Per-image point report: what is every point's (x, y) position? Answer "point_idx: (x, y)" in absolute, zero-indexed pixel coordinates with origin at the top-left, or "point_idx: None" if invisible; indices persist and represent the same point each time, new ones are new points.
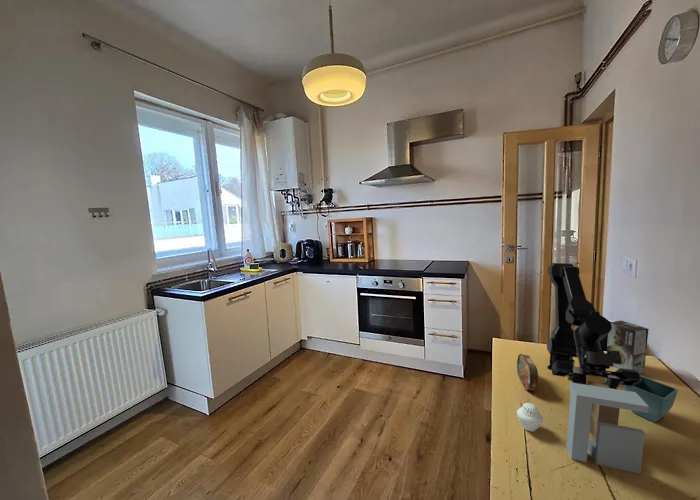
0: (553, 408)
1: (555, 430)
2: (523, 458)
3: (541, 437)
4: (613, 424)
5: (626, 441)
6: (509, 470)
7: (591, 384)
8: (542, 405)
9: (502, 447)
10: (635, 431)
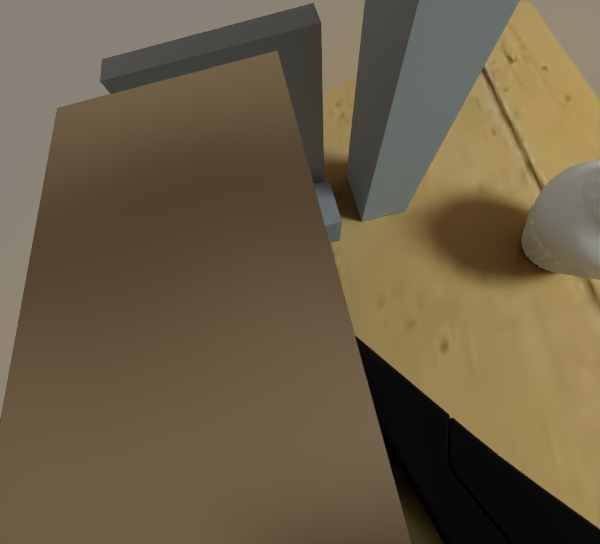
0: None
1: (452, 287)
2: (508, 98)
3: (489, 215)
4: (241, 44)
5: None
6: (523, 47)
7: (374, 526)
8: (563, 502)
9: (581, 104)
10: (144, 49)
